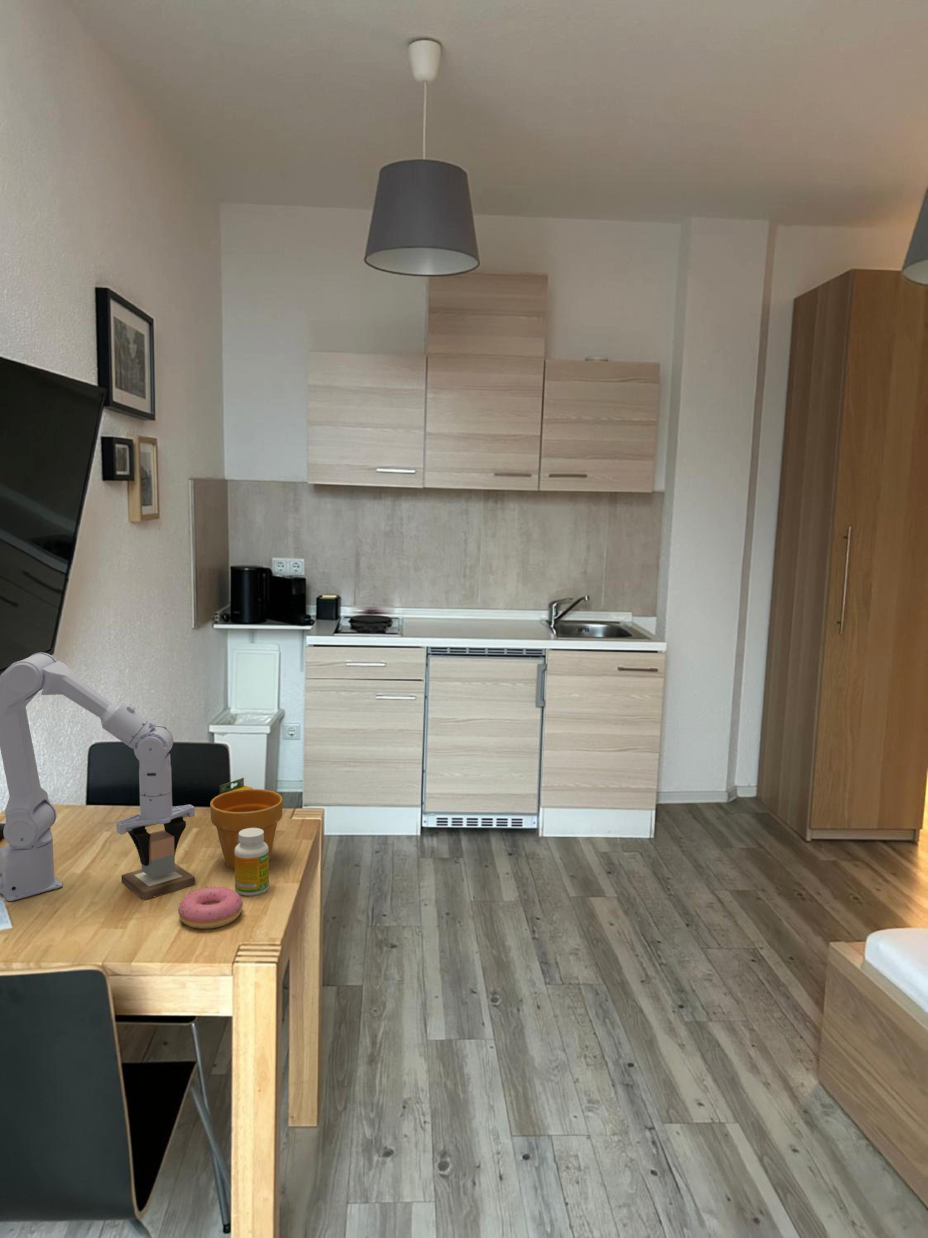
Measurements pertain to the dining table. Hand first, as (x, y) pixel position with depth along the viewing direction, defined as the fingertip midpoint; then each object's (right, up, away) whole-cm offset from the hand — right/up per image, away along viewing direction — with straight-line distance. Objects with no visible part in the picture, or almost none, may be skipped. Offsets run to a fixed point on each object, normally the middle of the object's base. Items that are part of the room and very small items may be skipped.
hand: (157, 860), depth 164 cm
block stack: (0, -2, 0) cm, 2 cm away
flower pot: (+14, -4, +12) cm, 19 cm away
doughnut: (+14, -7, -12) cm, 20 cm away
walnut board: (0, -5, +1) cm, 5 cm away
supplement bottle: (+18, -5, -1) cm, 19 cm away
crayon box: (+8, -2, +26) cm, 28 cm away
